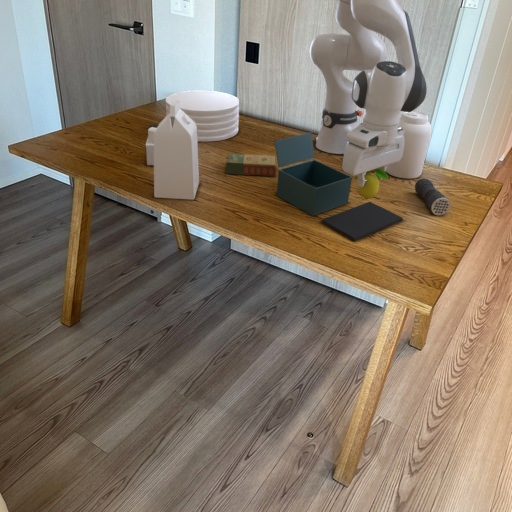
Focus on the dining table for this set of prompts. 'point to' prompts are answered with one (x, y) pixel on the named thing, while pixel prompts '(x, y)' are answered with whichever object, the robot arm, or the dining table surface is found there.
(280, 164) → the flap
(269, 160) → the carton
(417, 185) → the flashlight
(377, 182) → the lemon
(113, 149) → the dining table surface
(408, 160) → the white lidded jar
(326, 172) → the box
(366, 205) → the mat
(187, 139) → the milk
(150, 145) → the medicine bottle
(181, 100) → the plate stack
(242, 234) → the dining table surface
